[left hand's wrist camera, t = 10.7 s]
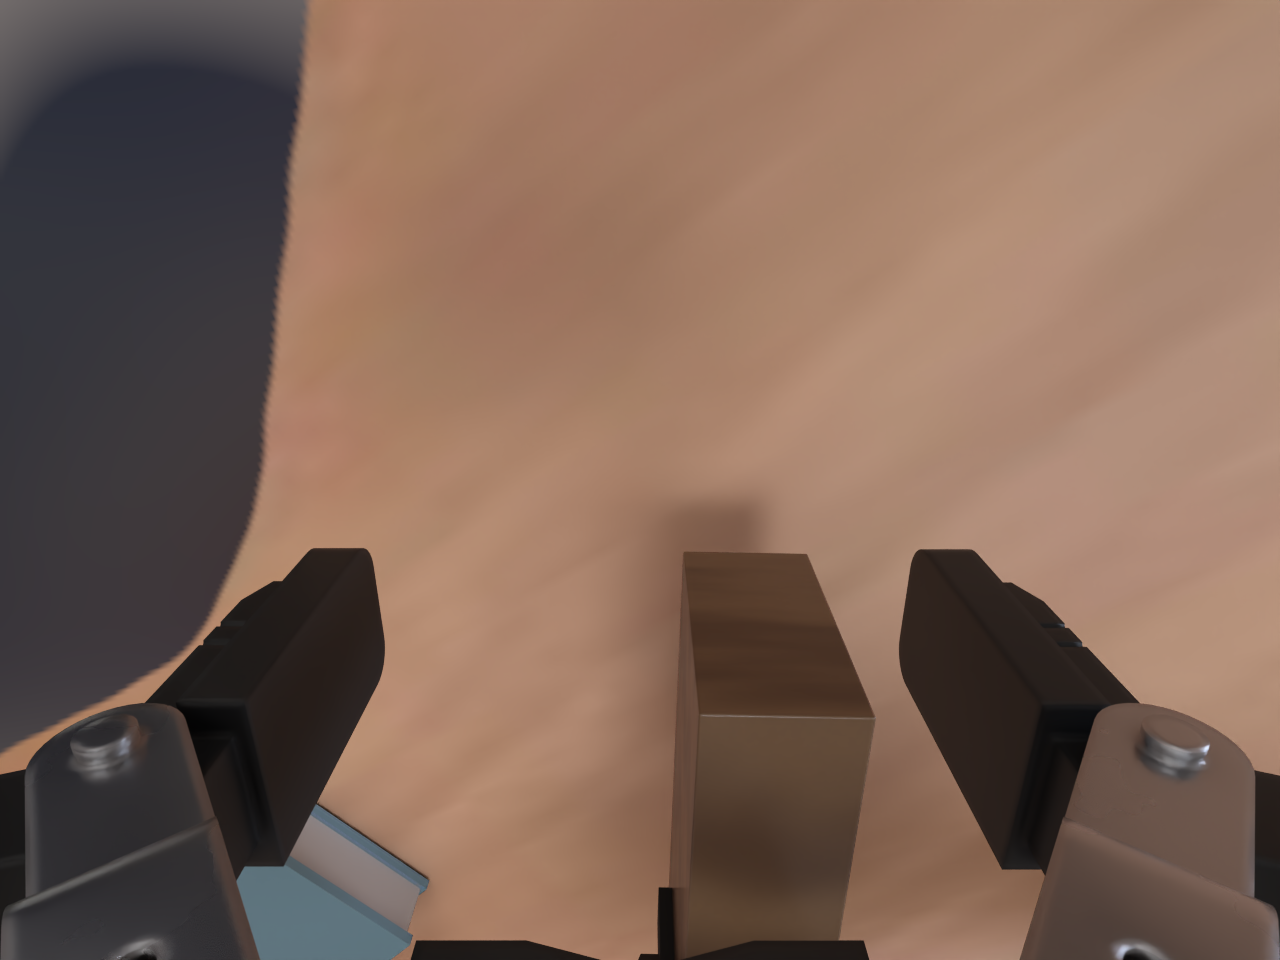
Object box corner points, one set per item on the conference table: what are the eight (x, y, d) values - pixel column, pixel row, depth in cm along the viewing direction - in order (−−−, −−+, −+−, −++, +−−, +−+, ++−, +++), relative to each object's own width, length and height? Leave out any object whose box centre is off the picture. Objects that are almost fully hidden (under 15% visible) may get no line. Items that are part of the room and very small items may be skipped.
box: (683, 551, 37) (698, 714, 26) (807, 553, 37) (876, 717, 26) (667, 904, 46) (674, 1138, 35) (767, 906, 46) (806, 1141, 35)
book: (249, 1022, 61) (217, 1091, 57) (71, 921, 57) (20, 987, 52) (429, 880, 55) (409, 945, 51) (245, 756, 51) (206, 814, 47)
